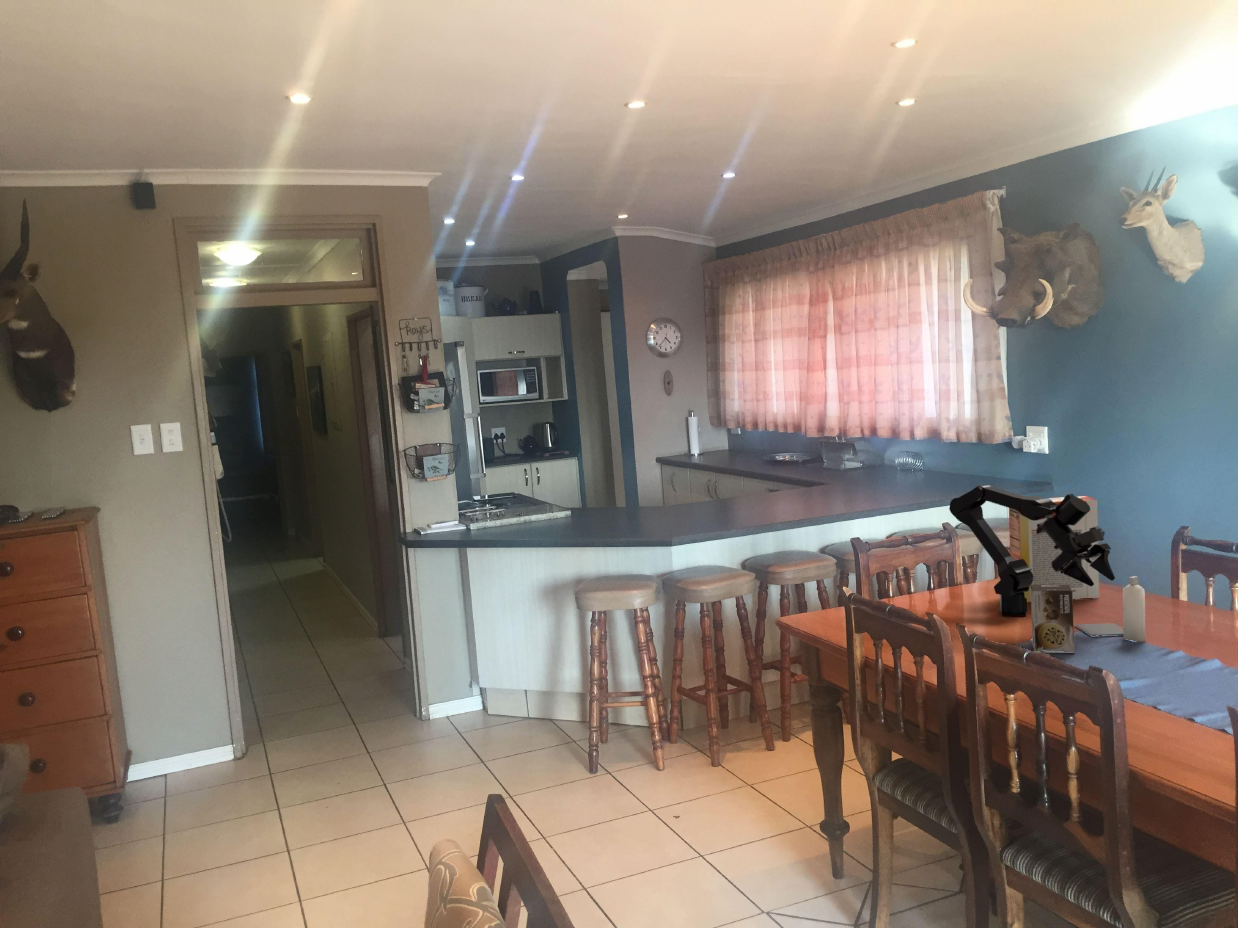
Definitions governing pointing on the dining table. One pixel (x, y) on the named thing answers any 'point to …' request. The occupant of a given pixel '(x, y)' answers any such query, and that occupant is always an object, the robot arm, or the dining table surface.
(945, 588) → the dining table surface
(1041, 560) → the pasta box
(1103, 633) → the coaster
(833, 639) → the dining table surface
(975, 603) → the dining table surface
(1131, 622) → the white bottle
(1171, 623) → the dining table surface
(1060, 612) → the cookie box
